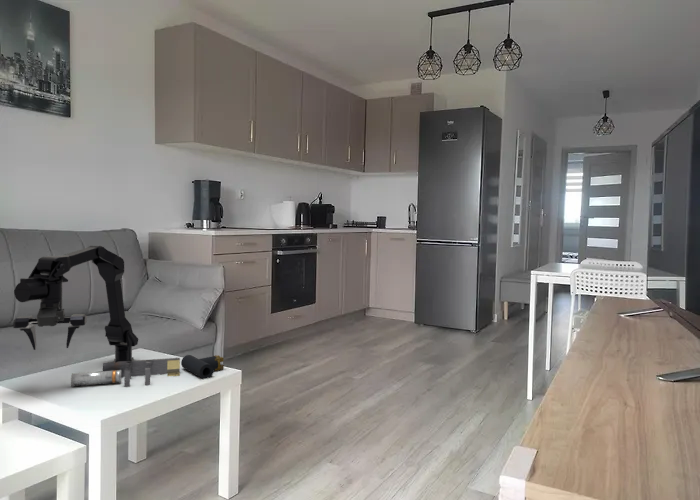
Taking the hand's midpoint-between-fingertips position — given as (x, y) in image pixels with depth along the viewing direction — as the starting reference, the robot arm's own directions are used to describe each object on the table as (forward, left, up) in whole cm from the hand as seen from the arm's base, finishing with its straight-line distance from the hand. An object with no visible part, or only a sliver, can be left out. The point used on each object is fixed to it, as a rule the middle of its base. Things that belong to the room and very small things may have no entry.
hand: (51, 348), depth 155 cm
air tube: (0, +13, -12) cm, 18 cm away
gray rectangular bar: (-5, +26, -12) cm, 29 cm away
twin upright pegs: (0, +25, -12) cm, 27 cm away
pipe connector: (-6, +46, -13) cm, 48 cm away
